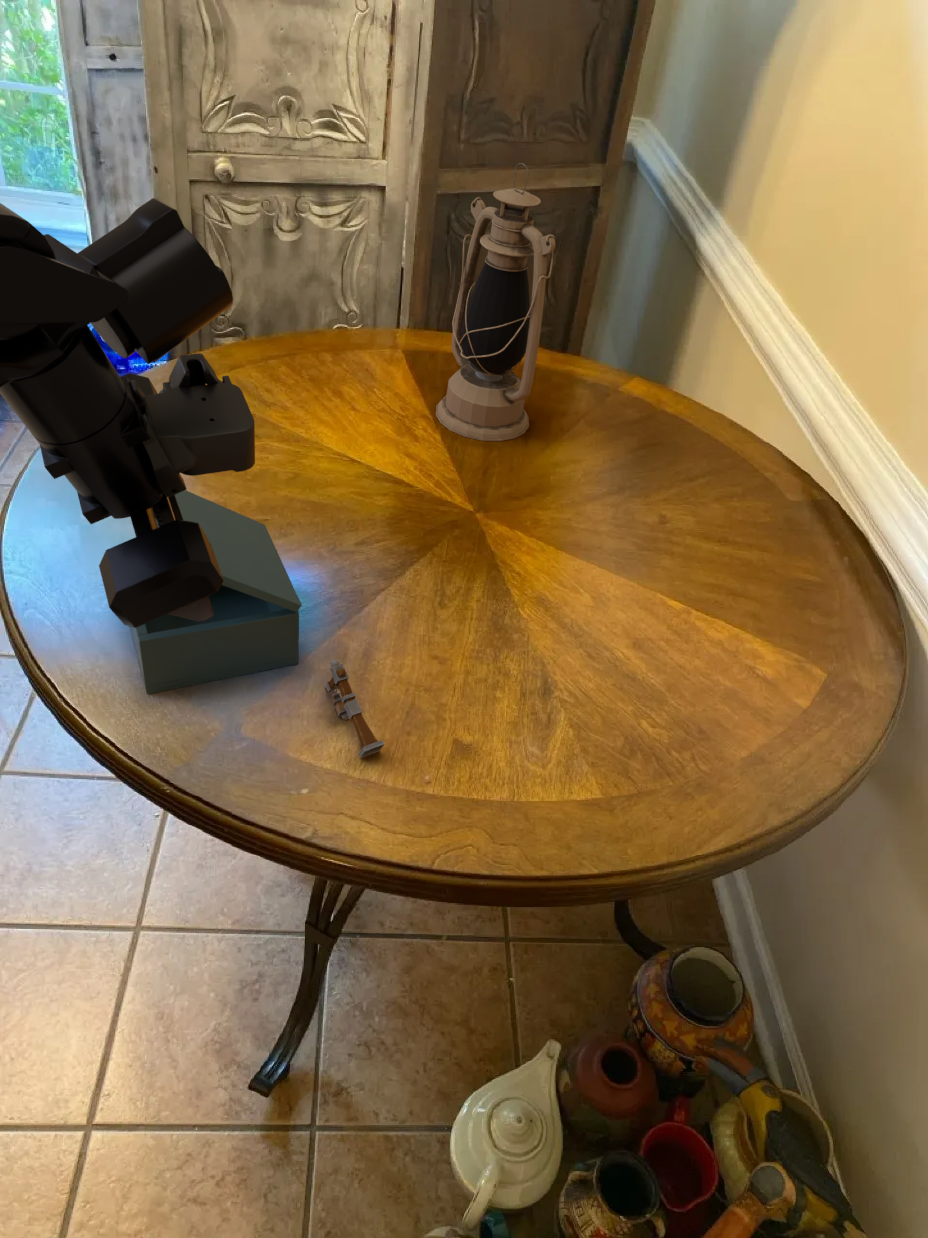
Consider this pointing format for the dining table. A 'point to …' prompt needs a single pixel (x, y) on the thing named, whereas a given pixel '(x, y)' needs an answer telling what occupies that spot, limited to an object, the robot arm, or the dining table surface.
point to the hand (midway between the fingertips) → (191, 568)
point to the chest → (216, 642)
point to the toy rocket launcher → (351, 709)
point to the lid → (241, 551)
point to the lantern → (497, 321)
